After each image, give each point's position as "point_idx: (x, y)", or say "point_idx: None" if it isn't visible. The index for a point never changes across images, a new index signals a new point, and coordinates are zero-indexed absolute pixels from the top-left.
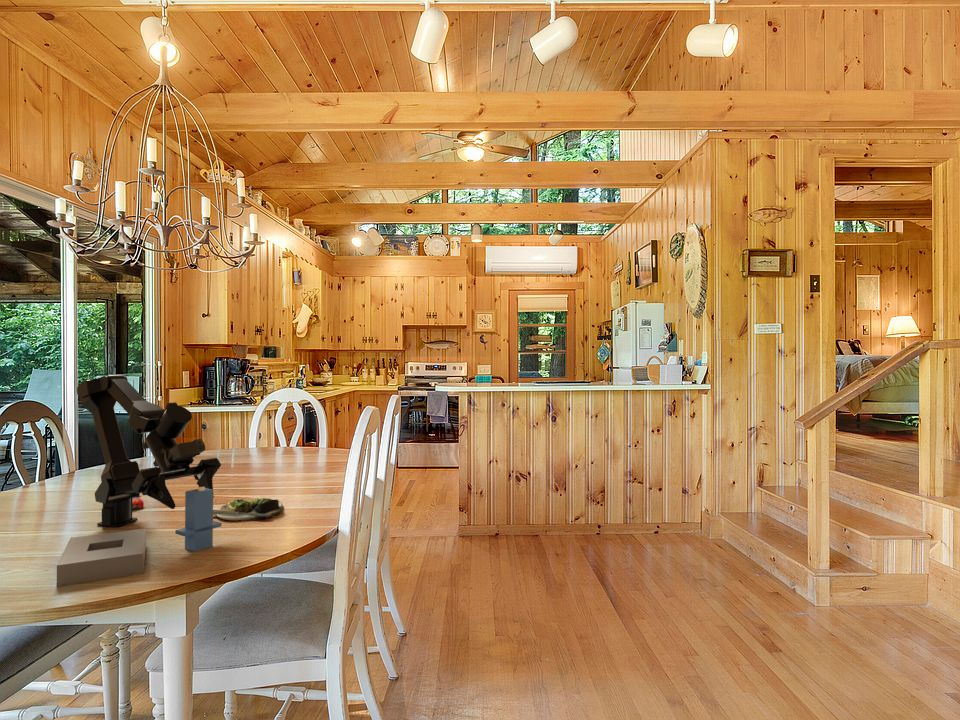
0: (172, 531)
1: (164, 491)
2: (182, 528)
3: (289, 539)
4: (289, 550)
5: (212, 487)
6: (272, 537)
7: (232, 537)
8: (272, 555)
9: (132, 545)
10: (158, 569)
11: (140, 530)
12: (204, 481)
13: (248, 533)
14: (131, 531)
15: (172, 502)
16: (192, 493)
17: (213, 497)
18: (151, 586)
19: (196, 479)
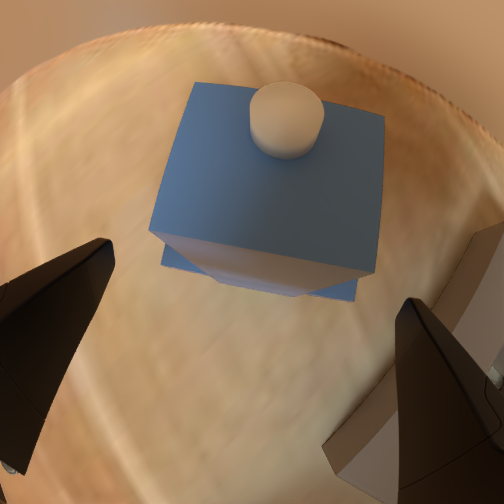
0: (163, 485)
1: (495, 394)
2: (322, 293)
3: (111, 74)
4: (189, 27)
5: (36, 269)
6: (102, 119)
7: (129, 231)
8: (234, 34)
9: (490, 322)
10: (446, 218)
11: (364, 469)
12: (6, 373)
13: (81, 213)
14: (383, 482)
15: (430, 316)
16: (383, 151)
17: (101, 238)
18: (492, 153)
19: (2, 495)
